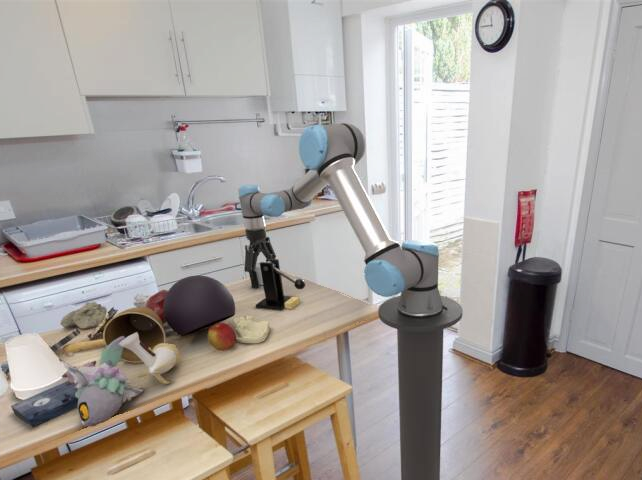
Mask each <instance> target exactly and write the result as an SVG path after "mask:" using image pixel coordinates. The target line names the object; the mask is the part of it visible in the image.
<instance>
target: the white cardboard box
mask: <svg viewBox="0 0 642 480" xmlns="http://www.w3.org/2000/svg"><path fill="white" fill-rule="evenodd" d="M255 271H256V272H257V278H258V284H259V286H263V280H262V274H261V268H260V262H257V263H256V268H255Z"/></svg>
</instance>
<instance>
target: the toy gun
mask: <svg viewBox="0 0 642 480" xmlns="http://www.w3.org/2000/svg"><path fill="white" fill-rule="evenodd" d="M119 345H120V346H122V347H124V348H127V349H130V350H131V351H132V352H134V353H135V354H136V355H137V356H138V357H139V358H140V359H141V360H142V361H143V362H142V363H143V364H144V365H145V366H146V367H147V371H146V372H144V373H143V372H142V373H141V374H140V373H138V374H137V377H138V378H143V377H146V376H148V375H149V376H150V375H153V376H154V377H155V379H156V380H158V381H159V382H160V383H161V384H163V385H168V384H170V383H171V381H167V380H165V378H163V377H162V375H161V374H164V373H167V372H168V371H170V370H171V369H172V368H174V367H175V366H177V365H178V364H179V362H180V360H181V354H180V351H179V349H178V348H177V346H176V344H174V343H168V342H165V343H161V344H158V345H156V346H155V347H154V348H153V350H151V348H150V347H149V349H148V348H147V347H146V346H145V345H144V344H143V343H142V342H141V341H140V340H139V335H138V333H137V332H136V333H134V334H132V335H130V336H128V337H126V338H125V339H124V340H123V341H121V342H120V343H119Z"/></svg>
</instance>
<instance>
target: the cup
mask: <svg viewBox="0 0 642 480" xmlns="http://www.w3.org/2000/svg"><path fill="white" fill-rule="evenodd" d="M49 346H50V345H48V344H47V343H46V342H45V340H44V339H43V338H42V337H41V336H40V334H38V333H35V332H30V333H23V334H18V335H16V336H14V337H11V338H9V339H8V340H6V341H5V342H4V347H5V354H6V359H7V362H8V365H9V369H8V371H9V376H10V381H11V382H10V388H11V390H12V392H13V393H14V394H15V398H17V399H19V400H21V401H23V400H25V399H27V398H29V397H32V396H34V395H36V394H39V393H41V392H43V391H46V390H48V389H51V388H53V387H55V386H57V385H60V384H62V383H64V382H67V380H68V377H66V378H64V377H62V375H63V374H64V373H66V371H67V368H66V367H65V365H64V364H63V363H61V362H60V361H59V359H60V358H59V357H58V355H57V354H56V353H55V352H53V351H52V350H51V349H50V347H49Z"/></svg>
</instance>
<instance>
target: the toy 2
mask: <svg viewBox="0 0 642 480" xmlns="http://www.w3.org/2000/svg"><path fill="white" fill-rule="evenodd" d="M124 339H125V337H124V336H122V337H119V338H117V339H116V340H114V341H113V342H111V343H110V344H109V345H108V346H107V347H106V346H105V348H104V349H103V351H102V352H101V354H100V357H99V363H100V365H97V360H93V361H91V362H90V361H89V362H86V363H84V364H83V365H82V366H80V367H77V366H74V365H70V364H69V363H68V362H66V361H65V360H64V359H61V358H59V361H60V362H61V363H63V364H64V365H65V367H66V368H67V371H66V373H64V374H63V375H62V377H64V378H66V377H68V380H67V383H66V385H65V386H69V385H75V389H74V390H77V389H78V391H77V392H76V393H75V396H76V398H78V405H77V407H76V408H77V411H78V416H79V419H80V422H81V424H82V426H83V427H85V428H87V427H88V428H89V427H94V428H95V427H96V426H98V425H100V424H102V423H105V422H107V421H109V420H110V419H111V418H112V417H113V416H114V415H115V414H116V413H118V412H119V410H120V409H121V407H122V406H124V405H125V403H126V400H127V401H128V403H131V401H132V398H135V397H136V396H138V395H140V394H141V393H142V392H143V391H145V388H144V387H140V388H138V387H134V386H132V385H130V382H128V380H129V377H128V376H127V375H126V374H125V373H123V372H120V367H118V366H116V365H118V363H119V362H120V360H121V359H120V358H121V355H122V353H123V348H124V347H122V346H120V345H119V343H120V342H121V341H123V340H124Z"/></svg>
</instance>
